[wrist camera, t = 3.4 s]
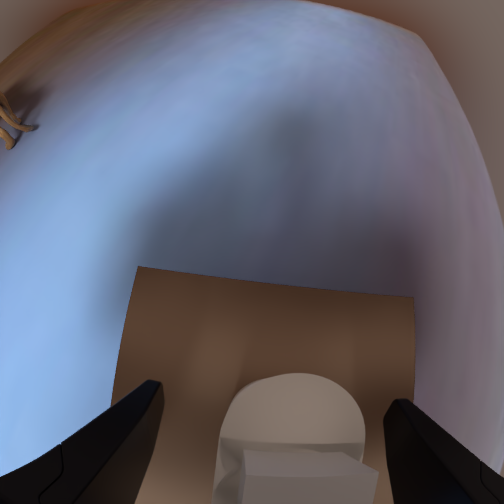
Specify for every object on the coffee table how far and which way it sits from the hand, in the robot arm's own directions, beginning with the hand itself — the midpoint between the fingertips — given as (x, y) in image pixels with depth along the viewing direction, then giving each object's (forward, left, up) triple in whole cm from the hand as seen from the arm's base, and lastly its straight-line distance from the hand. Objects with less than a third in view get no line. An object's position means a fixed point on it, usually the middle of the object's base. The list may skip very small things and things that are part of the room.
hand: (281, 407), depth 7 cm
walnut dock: (-1, +1, -7) cm, 7 cm away
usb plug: (-1, +1, -3) cm, 3 cm away
